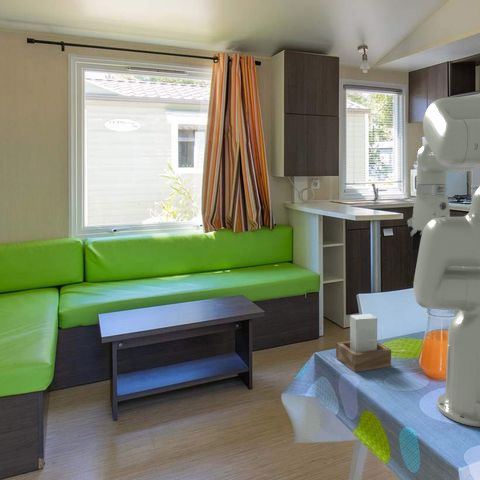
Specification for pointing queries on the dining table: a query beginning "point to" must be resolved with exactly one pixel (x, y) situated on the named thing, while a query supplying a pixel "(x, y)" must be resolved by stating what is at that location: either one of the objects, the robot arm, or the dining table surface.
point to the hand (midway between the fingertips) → (428, 251)
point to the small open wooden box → (363, 357)
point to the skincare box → (363, 333)
